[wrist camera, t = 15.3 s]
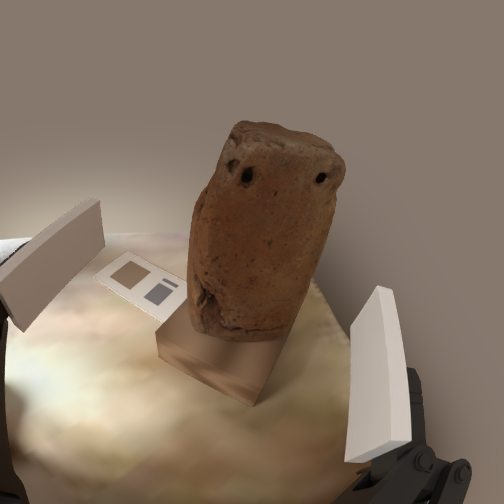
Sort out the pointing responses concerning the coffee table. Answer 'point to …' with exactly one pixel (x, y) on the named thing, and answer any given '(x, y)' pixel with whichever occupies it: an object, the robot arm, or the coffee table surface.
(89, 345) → the coffee table surface
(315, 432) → the coffee table surface
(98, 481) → the coffee table surface
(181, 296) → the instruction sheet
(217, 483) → the coffee table surface
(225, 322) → the block
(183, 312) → the tower base
